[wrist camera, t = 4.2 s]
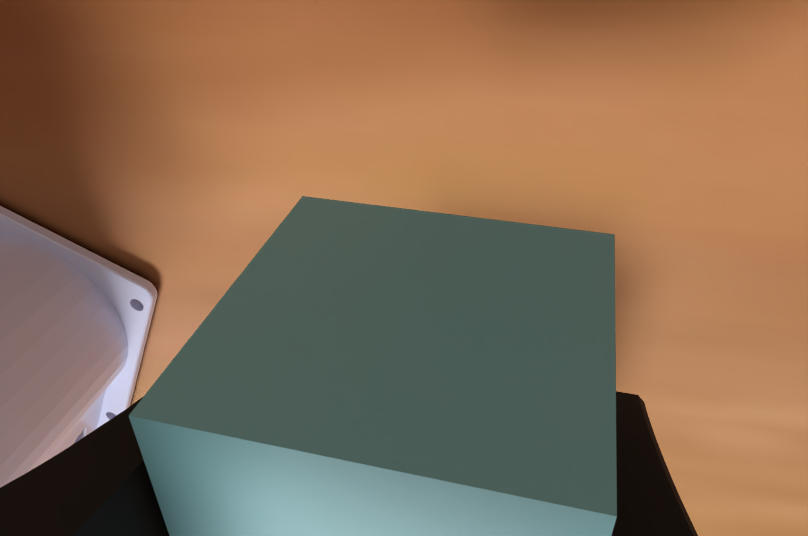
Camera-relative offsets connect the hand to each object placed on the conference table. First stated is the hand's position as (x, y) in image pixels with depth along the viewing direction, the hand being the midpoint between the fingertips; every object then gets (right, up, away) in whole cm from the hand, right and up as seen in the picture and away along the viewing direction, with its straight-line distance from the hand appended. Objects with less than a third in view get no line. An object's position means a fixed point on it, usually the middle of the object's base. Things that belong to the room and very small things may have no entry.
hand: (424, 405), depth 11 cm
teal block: (0, +1, +1) cm, 2 cm away
